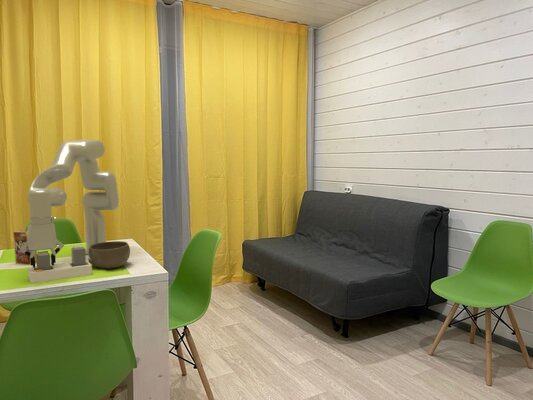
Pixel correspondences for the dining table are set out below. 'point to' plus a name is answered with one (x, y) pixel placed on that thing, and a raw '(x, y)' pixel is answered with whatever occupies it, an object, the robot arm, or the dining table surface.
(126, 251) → the bowl
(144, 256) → the dining table surface
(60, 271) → the power strip
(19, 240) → the candy box
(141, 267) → the dining table surface
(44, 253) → the plug
